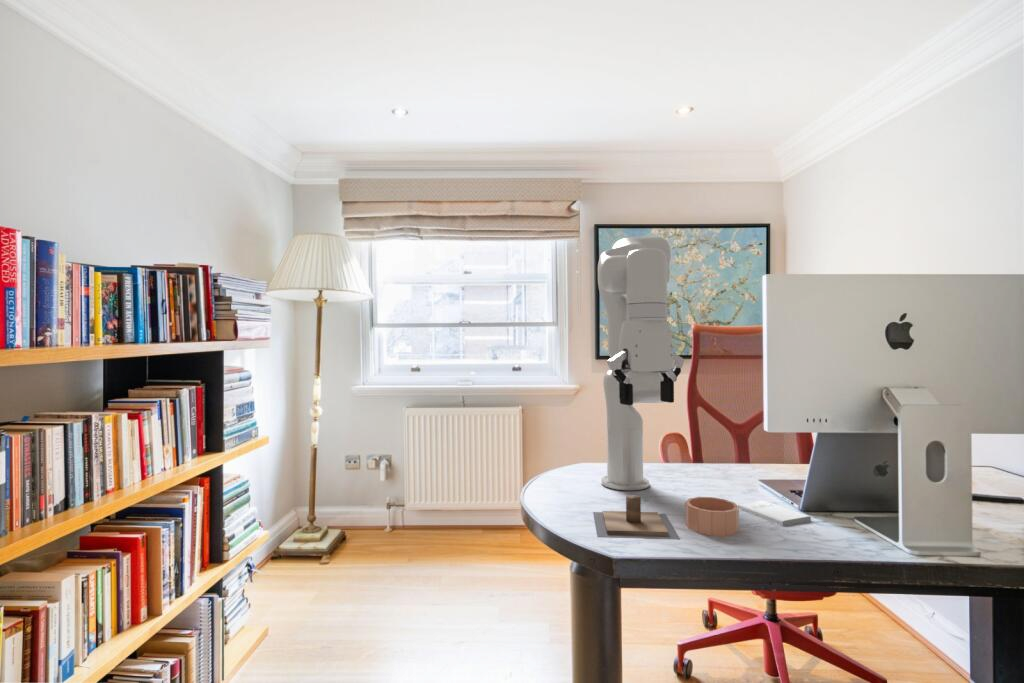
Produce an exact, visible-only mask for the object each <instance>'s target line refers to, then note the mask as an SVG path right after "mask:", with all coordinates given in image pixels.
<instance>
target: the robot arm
mask: <svg viewBox="0 0 1024 683" xmlns="http://www.w3.org/2000/svg"><path fill="white" fill-rule="evenodd" d="M671 251H672V250H671V247H670V243H669V242H668V241H667V240H666V239H665V238H663V237H661V236H639V237H638V236H636V237H635V236H634V237H632V236H631V237H624V238H620V239H618V240H617V241H616V242H615V243H614V244H613V246H612V248H610V249H607V250H605V251H603V252H602V253H600V256H599V258H598V259H599V260H598V263H597V285H598V287H597V288H598V291H599V295H600V298H601V301H602V304H603V305H604V309H605V312H606V317H607V319H606V320H607V350H608V356H609V357H610V358H609V359H608V360H607V365H608V367H609V370H607V371H606V372H605V374H604V376H603V384H602V385H603V390H604V398H605V405H606V449H607V450H606V460H607V462H606V467H607V468H606V469H607V470H606V471H607V472H606V474H607V475H605V476H603V477H602V478H601V484H602V485H603V486H604V487H606V488H608V489H613V490H617V491H618V490H619V491H620V490H621V491H640V490H645V489H647V488H649V486H650V481H649V480H648V479H647V478H645V477H644V424H643V423H644V421H643V418H642V415H641V413H639V410H637V409H636V408H635V407H634V405H633V404H661V403H669V404H671V403H674V401H675V382H677V381H678V376H679V375H680V374H681V372H682V369H683V365H684V363H685V360H684V358H683V357H682V356H680V355H678V353H677V354H676V353H675V352H674V345H673V343H674V342H673V335H672V328H671V325H670V321H669V320H668V316H670V314H671V310H670V308H668V304H667V303H668V286H667V285H668V283H669V282H670V273H671V272H670V265H671V257H672V253H671ZM625 295H626V296H625Z"/></svg>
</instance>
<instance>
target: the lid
mask: <svg viewBox="0 0 1024 683" xmlns="http://www.w3.org/2000/svg"><path fill="white" fill-rule="evenodd" d="M641 502H642V499H641V496H639V495H635V494H628V495H626V496H625V511H622V510H621V511H618V510H602V514H603V519H604V523H605V528H606V532H607V534H614V535H649V536H668V531H667V529H666V527H665V525H664V523H663V521H662V520H661V518H660V516H659V514H660V513H659V512H656V511H642V508H641V507H642V506H641Z"/></svg>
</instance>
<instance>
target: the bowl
mask: <svg viewBox="0 0 1024 683" xmlns="http://www.w3.org/2000/svg"><path fill="white" fill-rule="evenodd" d="M739 510H740V509H739V507H738V504H737V503H736V502H733V501H731V500H728V499H725V498H720V497H719V498H718V497H714V496H713V497H712V496H696V497H690V498H688V499H687V500H686V501H685V526H687V528H688V530H691V531H692V532H696V533H697V534H701V535H702V534H703V535H707V536H711V537H715V536H716V537H729V536H733V535H736V534H737V533H738V532H739V530H740V527H739V526H740V519H739V518H740V517H739V516H740V514H739V513H740V512H739Z"/></svg>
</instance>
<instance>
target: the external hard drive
mask: <svg viewBox="0 0 1024 683" xmlns="http://www.w3.org/2000/svg"><path fill="white" fill-rule="evenodd" d="M737 506H738V507H739V510H741V511H744V512H746V513H749V514H751V515H753V514H754V515H753V516H756V517H758V516H759V517H758V518H761V517H762V518H761V519H763V518H764V519H763V520H766V519H767V520H766V521H768V520H770V521H769V522H771V521H772V523H774V522H775V523H774V524H776V523H777V524H776V525H779V524H780V526H781V525H782V526H781V527H784V526H783V525H785V526H790V525H789V524H791V525H795V523H797V524H801V522H803V523H808V522H807V521H809V522H812V517H811V515H807V514H804V513H801V512H798V511H795V510H792V509H790V508H787V507H784V506H781V505H778V504H776V503H772V502H769V501H766V500H763V499H762V500H757V501H751V502H744V503H739V504H737Z"/></svg>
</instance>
